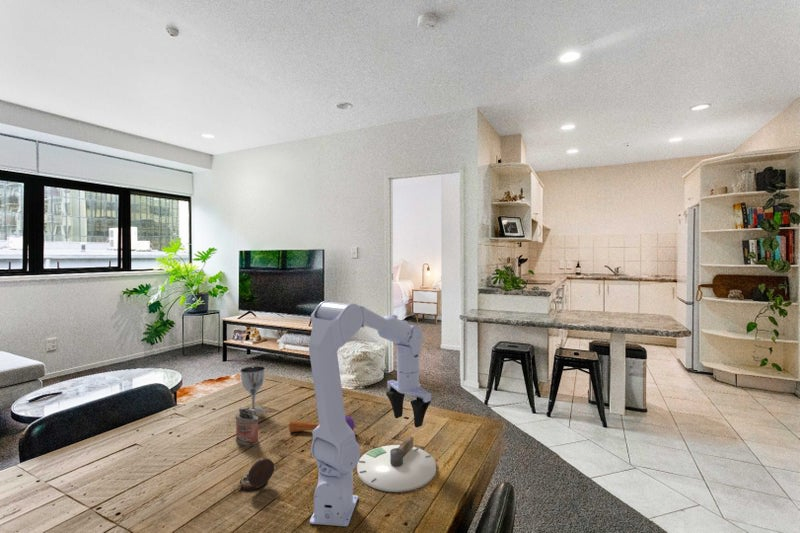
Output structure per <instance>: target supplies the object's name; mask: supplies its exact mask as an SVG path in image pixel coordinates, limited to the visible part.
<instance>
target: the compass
mask: <svg viewBox="0 0 800 533" xmlns="http://www.w3.org/2000/svg"><path fill="white" fill-rule="evenodd" d="M274 471H275V465H274V462H273V461H272V459H270V458H267V457H264V458H262V457H260V459H259V460H257V461H256V462H255V463H254V464H253V465H252V466H251V468H250V469H249V470H248V473H246V474H245V475H244V476H243V477H242V478H240V480H239V484H235V485H233V486H232V490H233V491H234V490H236V491H237V490H239V489H242V490H244V491H245V490H246V491H251V490H252V491H253V490H256V489H259V488H261V487H263V486H264V485H266V483H267V482H268V481H269V480H270V479H271V477H272V476H273V474H274ZM236 486H237V487H238V488H234V487H236Z"/></svg>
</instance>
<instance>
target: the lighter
mask: <svg viewBox="0 0 800 533" xmlns="http://www.w3.org/2000/svg"><path fill="white" fill-rule="evenodd" d="M250 408H251V407H250V406H246V407H244V406H240V407H239V408H238V412H239V413H237V414H235V416H234V417H235V419H236V420H235V421H236V422H235V429H236V430H235V432H236V433H235V434H236V437H235V442H236V443H238V444H240V445H243V446H247V447H255V446H258V445H259V444H260V440H259V419H260V418H259V417H258V415H256V410H254V409H250Z"/></svg>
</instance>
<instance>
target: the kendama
mask: <svg viewBox="0 0 800 533" xmlns="http://www.w3.org/2000/svg"><path fill="white" fill-rule="evenodd" d="M345 419H346V422H347V424H348V425H349V427H350V428H351V429H352V430H353V431H354V429H355V422H354V420H353V418H352V417H351V416H350V415H347V414H345ZM318 425H319V423H316V422H314V423H313V422H307V421H306V422H305V421H297V420H290V422H289V425H288V431H289V432H290V433H294V432H302V431H310V430H314V429H315V428H316V427H317V426H318Z"/></svg>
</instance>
